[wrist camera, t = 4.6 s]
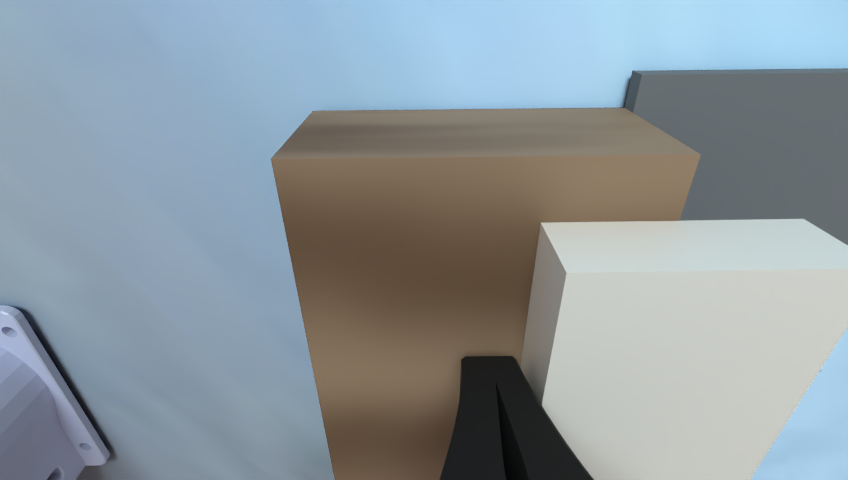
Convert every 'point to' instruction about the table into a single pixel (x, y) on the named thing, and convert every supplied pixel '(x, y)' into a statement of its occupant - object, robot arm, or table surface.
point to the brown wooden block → (442, 251)
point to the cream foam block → (680, 339)
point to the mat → (756, 140)
